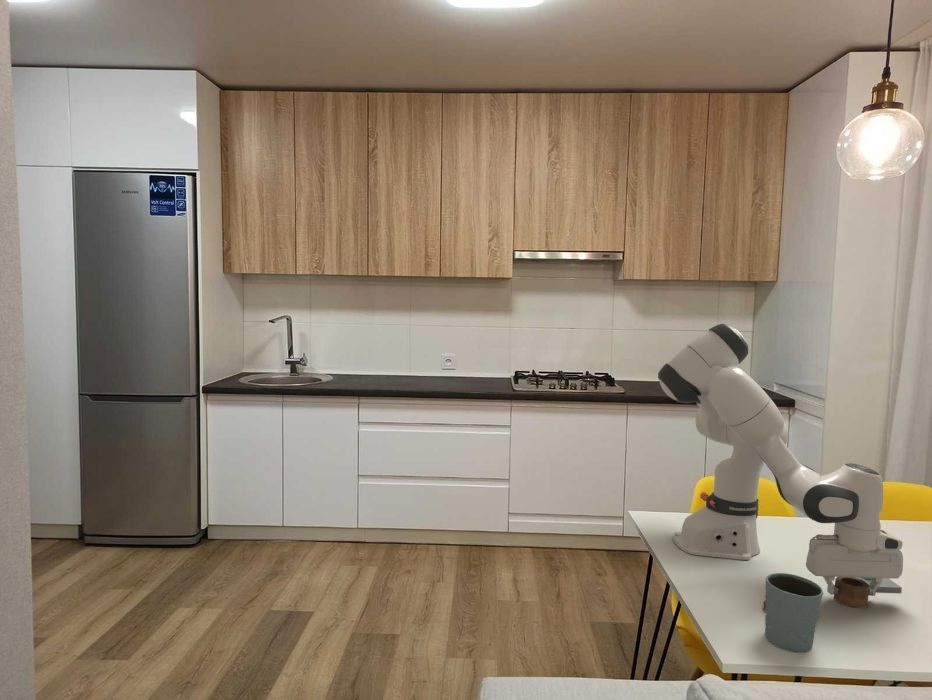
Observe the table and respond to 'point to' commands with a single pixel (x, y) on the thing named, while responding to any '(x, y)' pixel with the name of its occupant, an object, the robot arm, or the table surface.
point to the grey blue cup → (791, 611)
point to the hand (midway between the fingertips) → (851, 594)
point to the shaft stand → (884, 585)
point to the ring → (852, 591)
